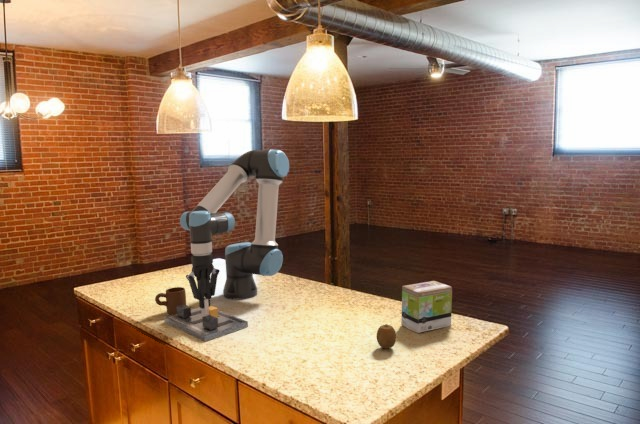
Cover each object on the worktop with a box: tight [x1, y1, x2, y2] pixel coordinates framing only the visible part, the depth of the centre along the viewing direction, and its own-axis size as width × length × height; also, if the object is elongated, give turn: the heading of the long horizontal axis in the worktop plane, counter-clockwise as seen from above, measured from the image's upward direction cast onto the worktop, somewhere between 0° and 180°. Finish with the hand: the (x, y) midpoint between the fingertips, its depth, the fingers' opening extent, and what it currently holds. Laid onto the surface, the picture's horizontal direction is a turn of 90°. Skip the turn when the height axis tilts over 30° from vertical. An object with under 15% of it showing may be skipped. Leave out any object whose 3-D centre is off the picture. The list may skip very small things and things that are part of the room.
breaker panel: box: [163, 304, 249, 343], centre depth 174 cm, size 18×28×6 cm, turn 46°
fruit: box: [376, 323, 397, 350], centre depth 149 cm, size 6×6×8 cm
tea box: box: [400, 280, 453, 334], centre depth 167 cm, size 15×10×15 cm
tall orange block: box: [209, 305, 219, 318], centre depth 176 cm, size 3×5×4 cm, turn 46°
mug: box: [154, 286, 187, 316], centre depth 187 cm, size 12×8×9 cm, turn 128°
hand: (205, 315), depth 174 cm, fingers closed
